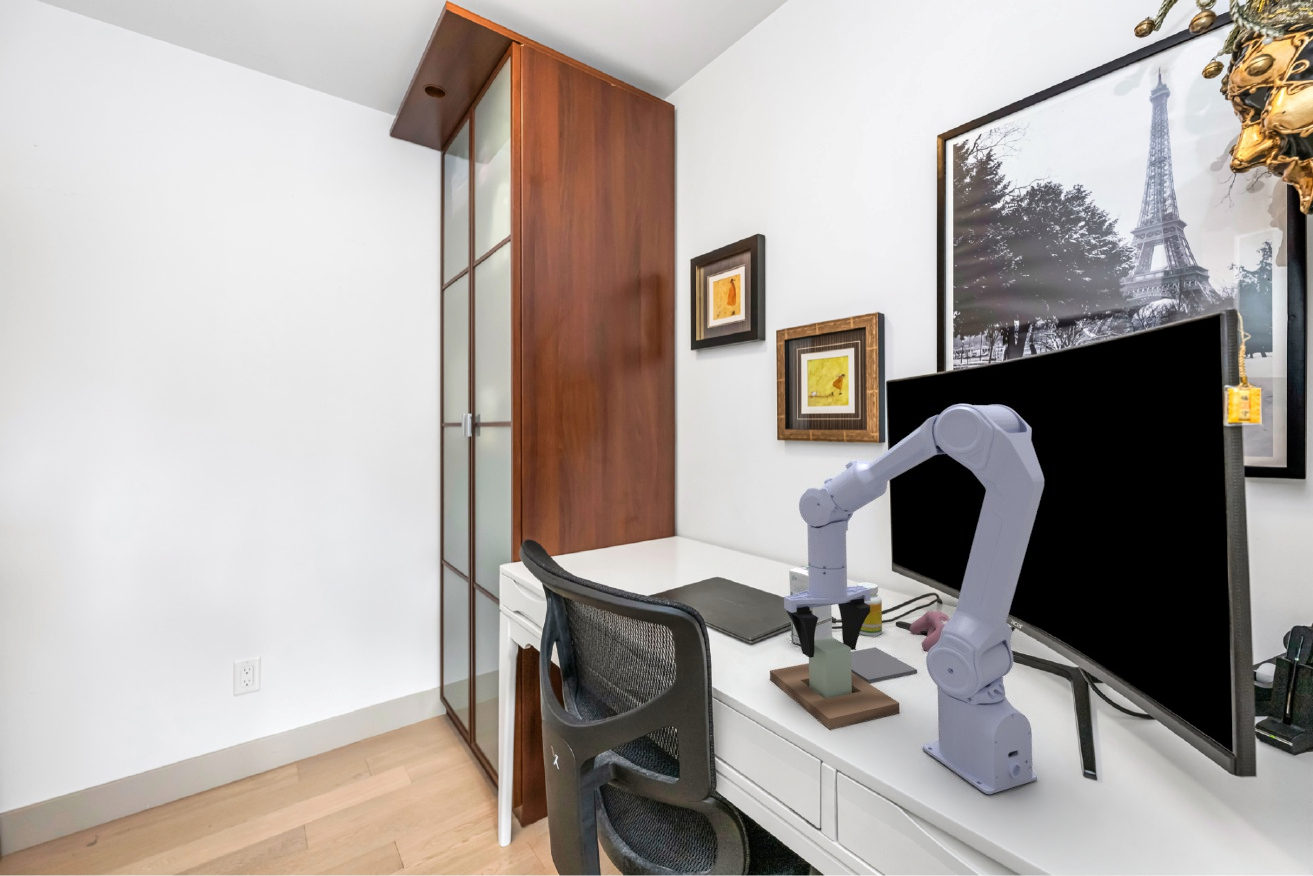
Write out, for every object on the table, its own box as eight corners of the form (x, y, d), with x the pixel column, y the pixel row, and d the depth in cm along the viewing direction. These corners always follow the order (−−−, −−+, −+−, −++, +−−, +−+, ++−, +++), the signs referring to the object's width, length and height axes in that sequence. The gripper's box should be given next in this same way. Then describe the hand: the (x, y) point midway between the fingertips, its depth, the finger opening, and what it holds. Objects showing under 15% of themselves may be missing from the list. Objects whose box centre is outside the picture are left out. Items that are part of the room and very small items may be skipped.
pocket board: (899, 713, 77) (899, 702, 77) (829, 729, 74) (829, 718, 74) (830, 667, 92) (830, 659, 92) (770, 679, 89) (769, 670, 89)
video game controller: (945, 661, 97) (963, 628, 97) (920, 649, 98) (938, 616, 97) (928, 640, 107) (945, 610, 106) (906, 629, 108) (922, 599, 107)
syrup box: (833, 644, 102) (832, 569, 102) (813, 652, 99) (811, 574, 99) (810, 635, 107) (808, 563, 107) (790, 643, 104) (788, 568, 103)
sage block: (851, 699, 82) (850, 647, 81) (827, 705, 80) (825, 652, 80) (833, 686, 86) (832, 637, 86) (809, 691, 84) (808, 641, 84)
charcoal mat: (917, 673, 90) (917, 669, 90) (868, 683, 86) (868, 679, 86) (875, 650, 99) (875, 647, 99) (829, 658, 96) (829, 655, 96)
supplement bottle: (848, 628, 110) (847, 582, 110) (871, 625, 111) (870, 580, 111) (864, 638, 105) (863, 589, 105) (888, 635, 106) (887, 587, 106)
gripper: (849, 554, 89) (850, 635, 89) (772, 563, 84) (774, 648, 85) (879, 564, 82) (880, 651, 82) (798, 574, 78) (799, 666, 78)
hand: (828, 651), depth 83 cm, fingers open, 7 cm apart
